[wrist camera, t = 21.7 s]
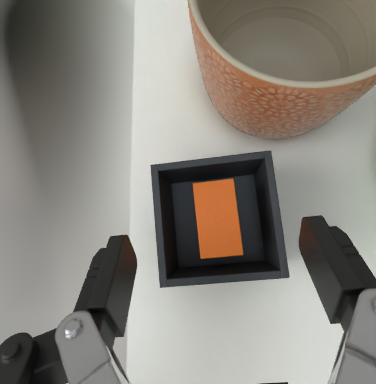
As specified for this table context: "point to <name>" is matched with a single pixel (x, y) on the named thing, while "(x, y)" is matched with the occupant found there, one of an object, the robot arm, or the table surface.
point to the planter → (284, 60)
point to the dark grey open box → (247, 212)
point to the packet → (217, 219)
